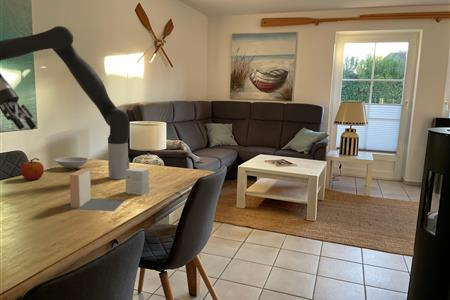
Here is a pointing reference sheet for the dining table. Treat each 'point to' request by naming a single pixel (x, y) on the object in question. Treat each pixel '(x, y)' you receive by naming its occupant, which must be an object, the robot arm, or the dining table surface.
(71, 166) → the dish
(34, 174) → the fruit
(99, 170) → the dining table surface
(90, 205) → the mat
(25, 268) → the dining table surface
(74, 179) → the pink rectangular block
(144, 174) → the small box
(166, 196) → the dining table surface
